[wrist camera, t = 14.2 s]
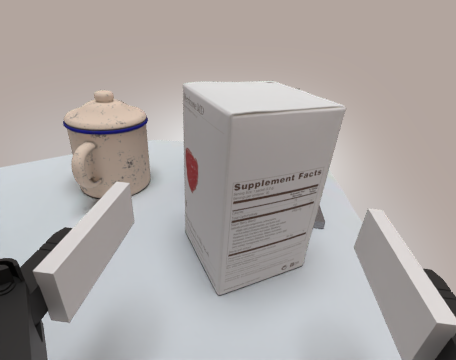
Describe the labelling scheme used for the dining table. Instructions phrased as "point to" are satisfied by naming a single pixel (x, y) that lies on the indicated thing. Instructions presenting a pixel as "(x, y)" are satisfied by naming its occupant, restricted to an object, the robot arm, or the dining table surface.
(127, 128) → the teacup with lid
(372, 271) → the robot arm
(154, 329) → the dining table surface
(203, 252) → the supplement box
